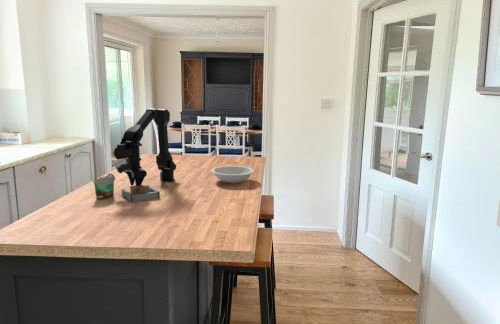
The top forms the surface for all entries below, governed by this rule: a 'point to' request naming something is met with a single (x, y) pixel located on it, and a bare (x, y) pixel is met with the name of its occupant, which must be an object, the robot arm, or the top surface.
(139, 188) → the wooden t-shaped block
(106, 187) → the food container
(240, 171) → the soup bowl
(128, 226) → the top surface
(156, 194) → the corral
